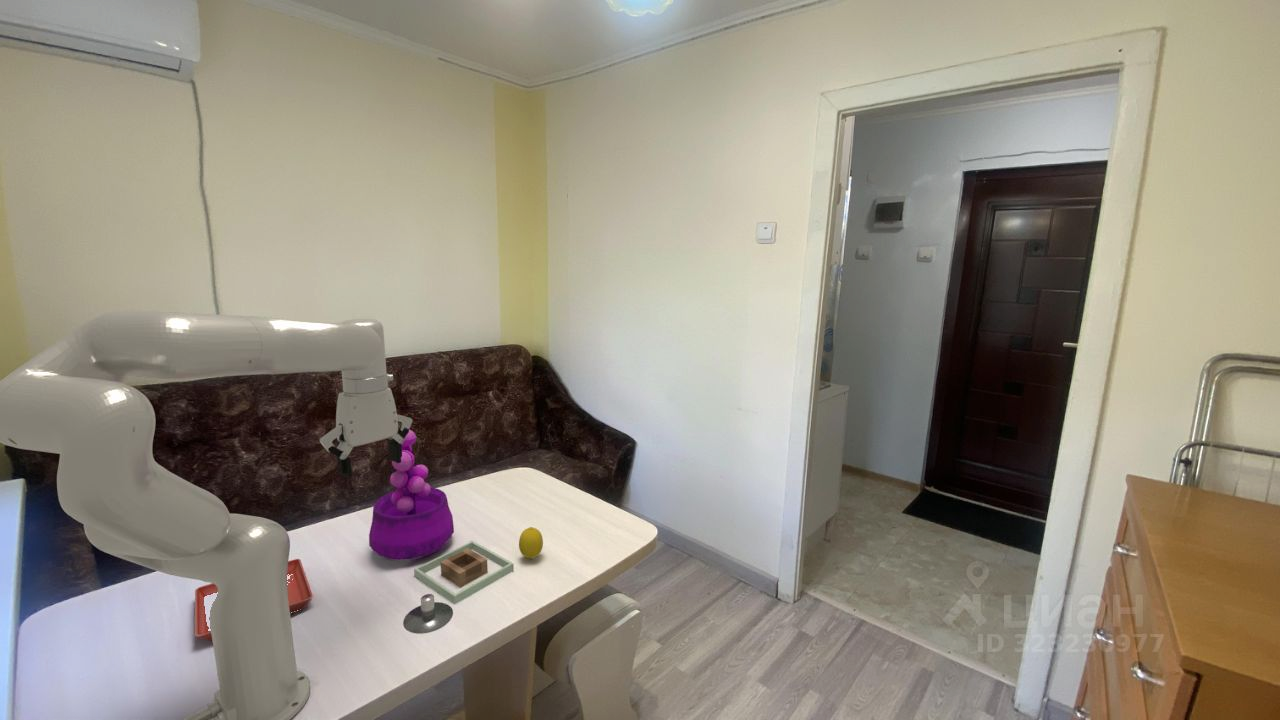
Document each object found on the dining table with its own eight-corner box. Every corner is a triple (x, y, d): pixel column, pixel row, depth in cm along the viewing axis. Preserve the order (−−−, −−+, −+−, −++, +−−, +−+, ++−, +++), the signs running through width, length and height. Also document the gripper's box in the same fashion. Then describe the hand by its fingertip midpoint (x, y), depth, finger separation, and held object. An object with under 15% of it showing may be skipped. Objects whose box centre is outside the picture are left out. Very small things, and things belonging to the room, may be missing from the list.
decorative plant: (456, 562, 122) (450, 439, 116) (366, 578, 115) (356, 448, 109) (452, 524, 139) (447, 415, 133) (374, 536, 132) (365, 421, 126)
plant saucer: (196, 601, 107) (194, 587, 106) (301, 570, 118) (299, 556, 117) (197, 653, 93) (194, 637, 92) (315, 612, 105) (313, 597, 104)
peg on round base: (420, 644, 96) (418, 620, 95) (394, 623, 101) (392, 600, 100) (462, 618, 103) (461, 595, 102) (436, 599, 108) (435, 578, 108)
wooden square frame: (441, 576, 116) (440, 561, 115) (468, 562, 121) (468, 548, 120) (460, 588, 112) (459, 573, 111) (487, 573, 117) (487, 559, 116)
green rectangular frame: (455, 607, 106) (454, 596, 106) (414, 579, 115) (413, 568, 115) (513, 573, 118) (513, 563, 118) (472, 550, 127) (472, 540, 126)
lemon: (537, 566, 121) (537, 534, 119) (515, 563, 122) (514, 531, 120) (546, 553, 126) (546, 523, 125) (525, 550, 127) (524, 520, 126)
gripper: (398, 374, 109) (403, 452, 113) (307, 389, 96) (315, 477, 99) (418, 379, 105) (423, 460, 108) (325, 396, 91) (334, 488, 95)
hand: (372, 468), depth 104 cm, fingers open, 9 cm apart
